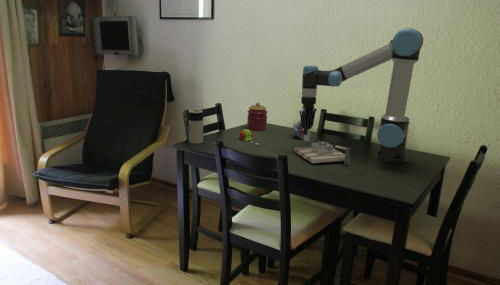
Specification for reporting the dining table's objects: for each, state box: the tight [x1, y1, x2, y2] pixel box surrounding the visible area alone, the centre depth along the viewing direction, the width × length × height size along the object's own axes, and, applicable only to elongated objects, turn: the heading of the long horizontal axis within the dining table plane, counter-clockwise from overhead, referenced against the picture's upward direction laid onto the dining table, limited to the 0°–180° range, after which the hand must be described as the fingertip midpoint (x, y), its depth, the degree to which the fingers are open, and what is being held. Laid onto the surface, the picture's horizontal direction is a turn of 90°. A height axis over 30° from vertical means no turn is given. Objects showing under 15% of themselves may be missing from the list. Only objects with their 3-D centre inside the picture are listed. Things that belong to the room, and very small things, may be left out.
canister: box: [246, 102, 268, 132], centre depth 254 cm, size 13×13×18 cm
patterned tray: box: [294, 140, 345, 164], centre depth 201 cm, size 24×20×4 cm
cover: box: [312, 140, 335, 155], centre depth 198 cm, size 8×8×5 cm
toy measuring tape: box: [239, 128, 260, 146], centre depth 225 cm, size 6×19×7 cm, turn 29°
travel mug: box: [188, 109, 204, 144], centre depth 218 cm, size 8×8×18 cm
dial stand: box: [335, 145, 352, 167], centre depth 191 cm, size 8×2×8 cm, turn 48°
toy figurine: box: [290, 120, 304, 140], centre depth 237 cm, size 11×11×12 cm
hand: (306, 140), depth 208 cm, fingers closed
